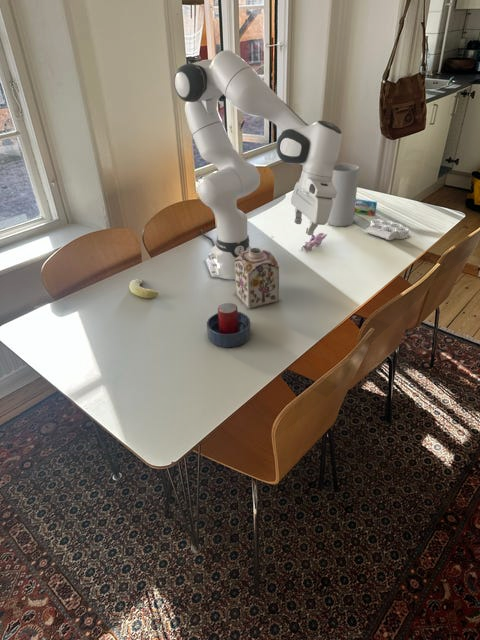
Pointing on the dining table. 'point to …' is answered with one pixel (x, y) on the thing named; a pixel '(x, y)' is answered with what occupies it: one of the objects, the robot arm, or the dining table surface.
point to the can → (228, 318)
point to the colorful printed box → (365, 207)
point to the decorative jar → (256, 277)
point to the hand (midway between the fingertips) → (303, 228)
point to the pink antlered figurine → (314, 241)
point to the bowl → (229, 339)
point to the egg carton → (387, 229)
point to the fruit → (141, 289)
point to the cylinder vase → (344, 194)
